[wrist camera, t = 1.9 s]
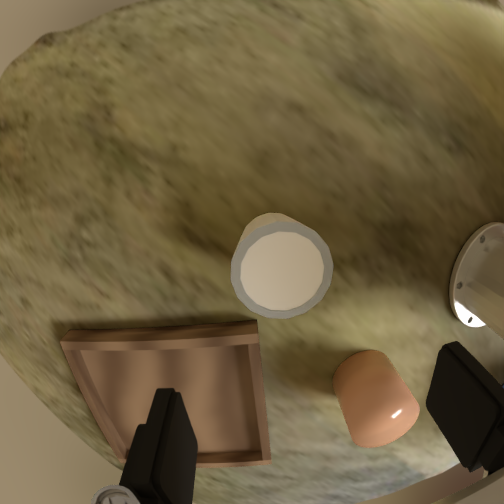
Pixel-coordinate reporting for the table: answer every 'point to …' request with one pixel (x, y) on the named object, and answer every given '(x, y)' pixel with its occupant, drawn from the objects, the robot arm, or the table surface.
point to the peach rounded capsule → (374, 399)
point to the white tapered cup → (280, 267)
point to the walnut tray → (177, 385)
